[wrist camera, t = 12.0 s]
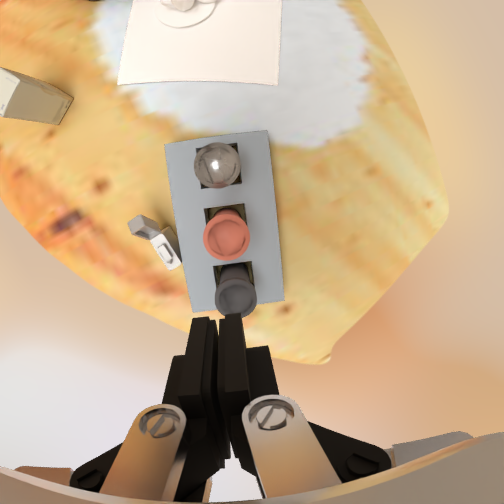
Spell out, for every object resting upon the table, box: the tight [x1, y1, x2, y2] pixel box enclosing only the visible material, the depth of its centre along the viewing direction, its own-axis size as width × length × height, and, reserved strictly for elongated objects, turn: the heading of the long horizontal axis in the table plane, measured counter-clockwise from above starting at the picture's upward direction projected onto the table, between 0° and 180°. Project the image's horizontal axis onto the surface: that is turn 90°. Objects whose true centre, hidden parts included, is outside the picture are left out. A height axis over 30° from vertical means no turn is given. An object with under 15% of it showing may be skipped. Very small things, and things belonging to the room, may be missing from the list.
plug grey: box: [194, 142, 241, 189], centre depth 30 cm, size 4×4×8 cm
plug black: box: [215, 262, 257, 318], centre depth 33 cm, size 4×4×8 cm
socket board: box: [164, 130, 285, 312], centre depth 34 cm, size 11×20×4 cm, turn 7°
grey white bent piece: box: [128, 215, 182, 270], centre depth 32 cm, size 7×2×8 cm, turn 29°
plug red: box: [203, 208, 250, 261], centre depth 30 cm, size 4×4×8 cm
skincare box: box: [0, 67, 73, 125], centre depth 24 cm, size 6×4×12 cm
